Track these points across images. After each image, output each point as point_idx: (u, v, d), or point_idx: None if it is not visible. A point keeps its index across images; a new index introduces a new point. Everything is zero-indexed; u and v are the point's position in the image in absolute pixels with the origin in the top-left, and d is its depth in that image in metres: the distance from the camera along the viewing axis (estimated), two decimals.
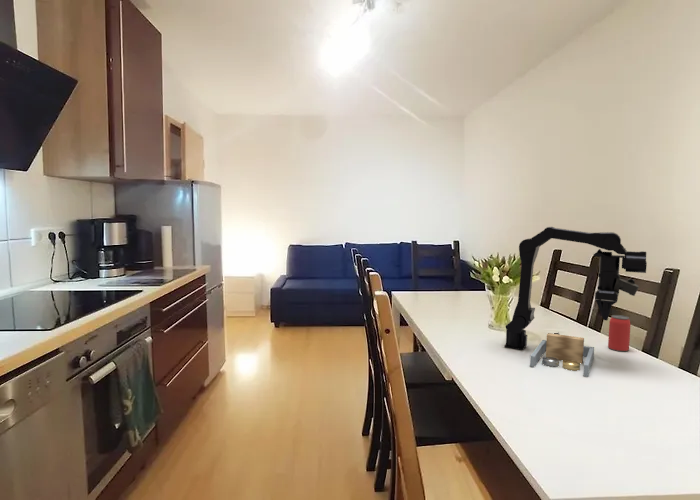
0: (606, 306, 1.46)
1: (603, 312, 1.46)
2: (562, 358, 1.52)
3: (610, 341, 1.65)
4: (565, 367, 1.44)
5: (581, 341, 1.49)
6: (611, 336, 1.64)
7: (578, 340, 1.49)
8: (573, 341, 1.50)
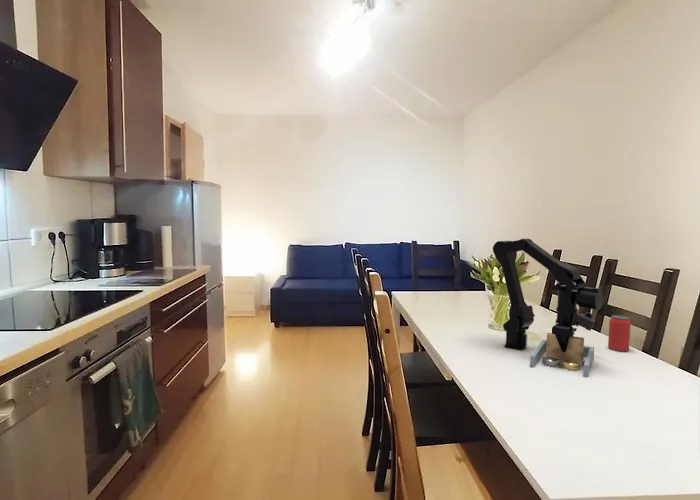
0: (564, 338, 1.50)
1: (561, 344, 1.51)
2: (562, 358, 1.52)
3: (610, 341, 1.65)
4: (565, 367, 1.44)
5: (581, 341, 1.49)
6: (611, 336, 1.64)
7: (578, 340, 1.49)
8: (573, 340, 1.50)
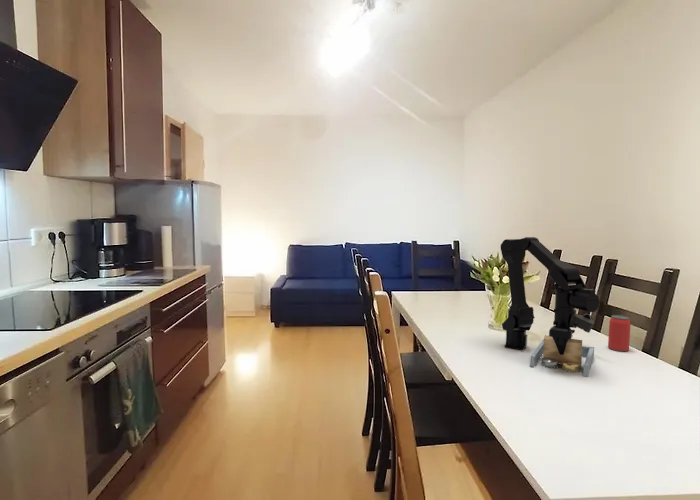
0: (562, 341, 1.45)
1: (559, 347, 1.46)
2: (560, 361, 1.47)
3: (610, 341, 1.65)
4: (565, 368, 1.42)
5: (579, 345, 1.43)
6: (611, 336, 1.64)
7: (576, 344, 1.44)
8: (570, 344, 1.45)
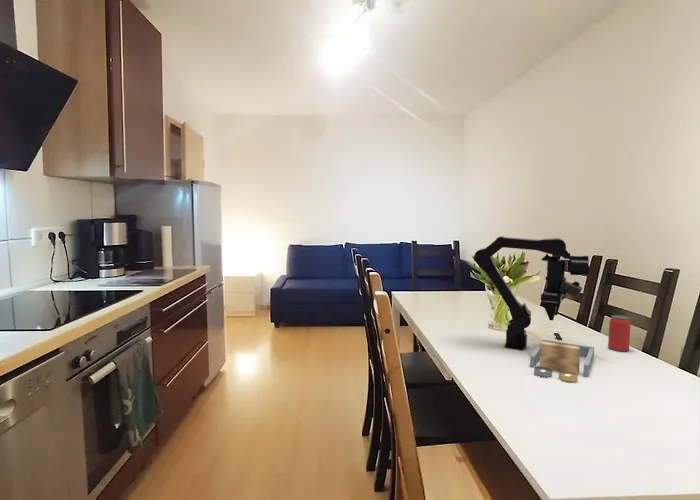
0: (551, 307, 1.56)
1: (549, 313, 1.57)
2: (557, 368, 1.42)
3: (610, 341, 1.65)
4: (562, 379, 1.34)
5: (577, 350, 1.38)
6: (611, 336, 1.64)
7: (574, 349, 1.39)
8: (568, 350, 1.40)
